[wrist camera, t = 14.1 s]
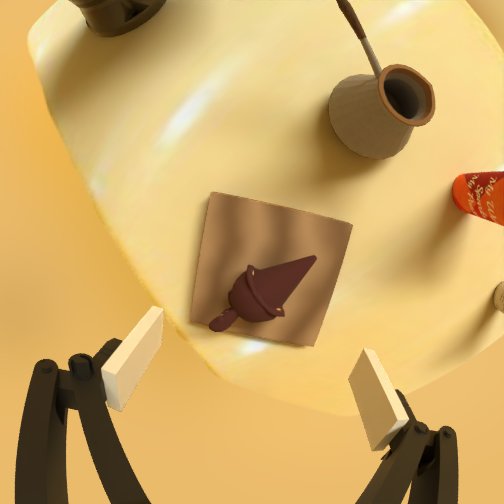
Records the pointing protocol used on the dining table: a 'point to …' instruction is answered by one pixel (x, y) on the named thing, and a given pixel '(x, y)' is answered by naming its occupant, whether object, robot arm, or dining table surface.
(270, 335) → the serving board
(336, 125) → the coffee pot
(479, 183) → the coffee cup
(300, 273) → the icecream
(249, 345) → the dining table surface
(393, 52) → the dining table surface
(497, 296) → the energy drink can
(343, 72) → the dining table surface
